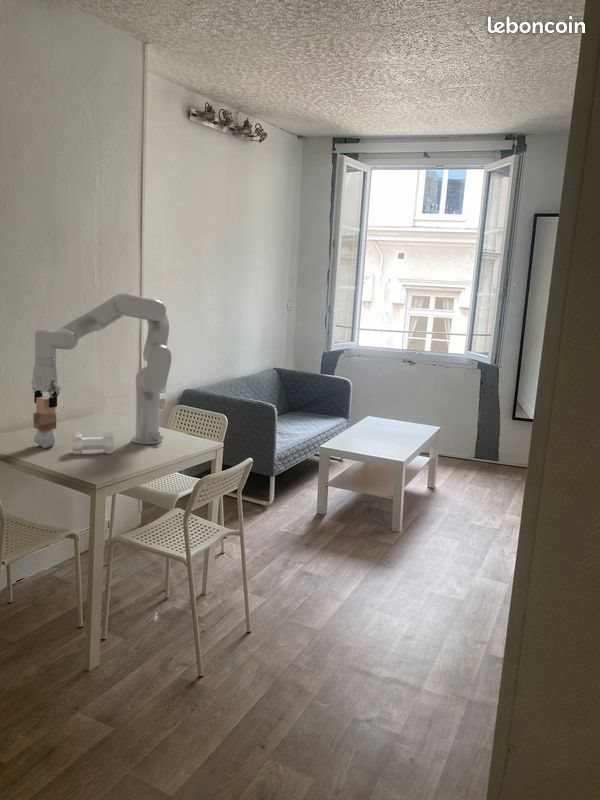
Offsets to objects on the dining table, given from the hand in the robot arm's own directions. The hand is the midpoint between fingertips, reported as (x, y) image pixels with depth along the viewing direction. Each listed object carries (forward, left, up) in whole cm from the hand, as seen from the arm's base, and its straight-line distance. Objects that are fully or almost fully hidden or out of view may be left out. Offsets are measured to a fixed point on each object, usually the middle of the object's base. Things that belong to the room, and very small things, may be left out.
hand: (45, 405), depth 245 cm
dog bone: (-19, -8, -17) cm, 27 cm away
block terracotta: (0, 0, -3) cm, 3 cm away
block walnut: (0, 0, -9) cm, 9 cm away
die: (0, 0, -17) cm, 17 cm away
